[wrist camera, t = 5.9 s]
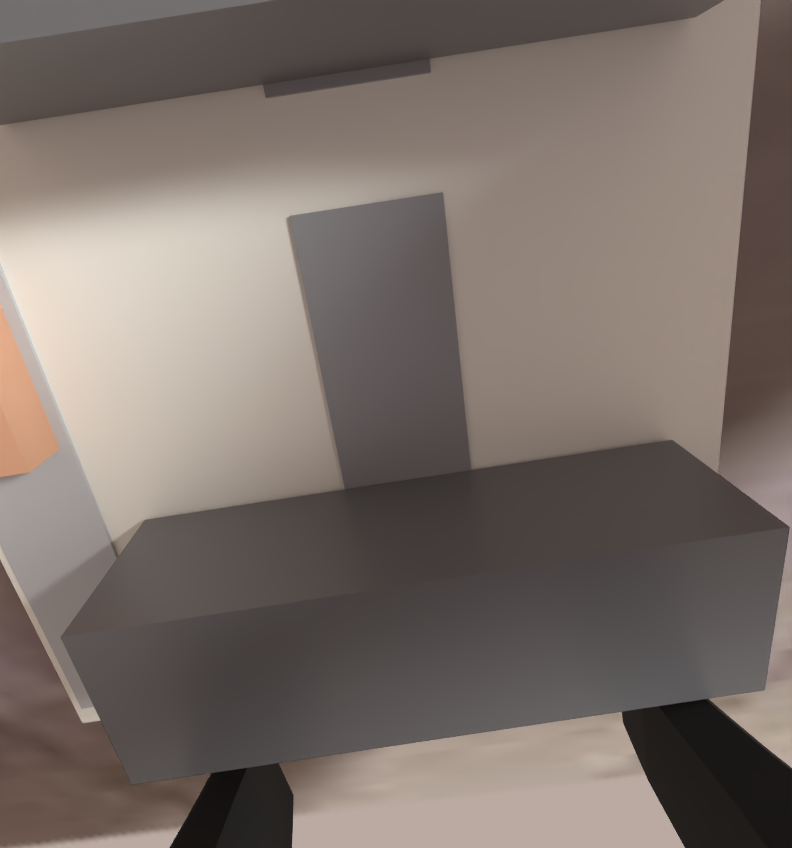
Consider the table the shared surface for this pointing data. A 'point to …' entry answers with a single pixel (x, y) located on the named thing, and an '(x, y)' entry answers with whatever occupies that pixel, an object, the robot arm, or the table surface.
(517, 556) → the slider
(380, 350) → the switch panel
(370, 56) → the slider middle
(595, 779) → the table surface
